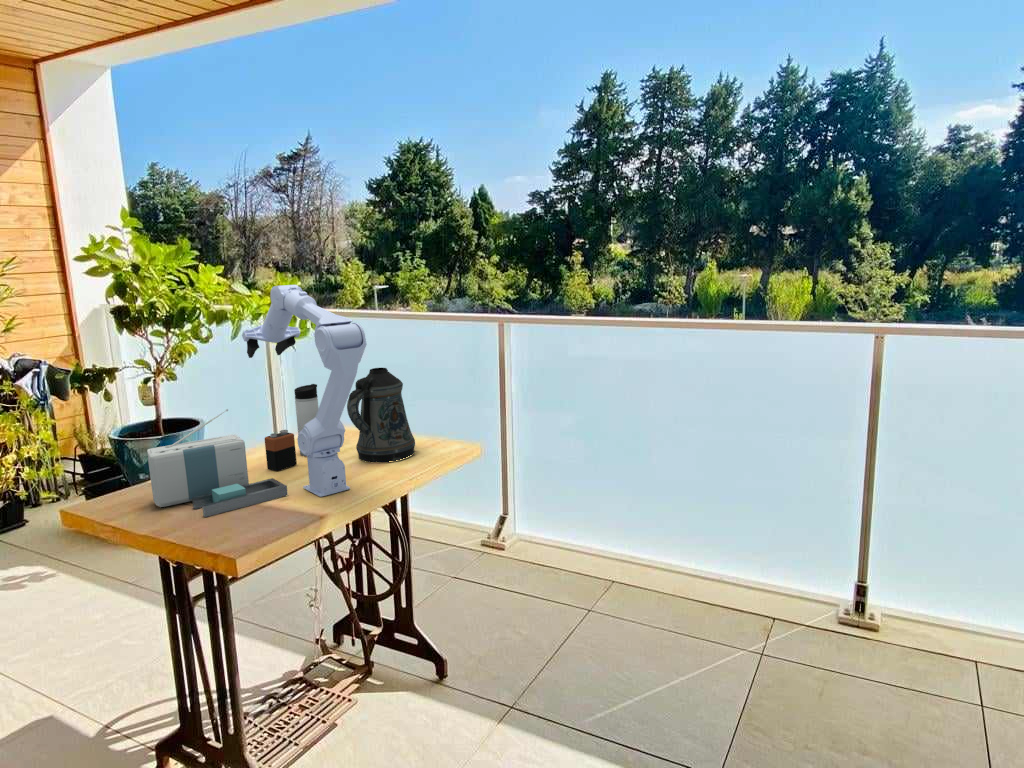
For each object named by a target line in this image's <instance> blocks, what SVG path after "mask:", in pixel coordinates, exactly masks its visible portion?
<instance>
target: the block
mask: <svg viewBox="0 0 1024 768" xmlns="http://www.w3.org/2000/svg"><path fill="white" fill-rule="evenodd" d="M245 494H246V488H244V487H242V486H241V485H239V484H233V485H229V486H225V487H221V488H217V489H212V498H213V502H217V501H221V500H225V499H229V498H233V497H237V496H241V495H245Z"/></svg>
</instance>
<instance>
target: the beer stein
mask: <svg viewBox="0 0 1024 768" xmlns="http://www.w3.org/2000/svg"><path fill="white" fill-rule="evenodd" d="M403 386H404V383H403V382H402V380H401V379H399V378H398V377H397V376H395V375H394V374H393V373H391V372H390V371H389V370H388V368H387V367H375V368H371V369H369V372H368V374H367V375H366V376H365V377H362V378H360V379H357V381H356V382H355V389H354V390H352V391H350V393H349V396H348V399H347V401H346V409H347V410H346V411H347V415H348V417H349V420H350V421H351V423H352V425H354V427H355V428H356V429H357V430H358V431H359V434H358V435H359V436H358V440H357V443H356V447H355V449H356V452H357V454H358V459H359V460H360V459H361V461H363V462H365V461H366V463H371V462H388V463H390V462H389V461H396V460H400V459H403V458H406V457H408V456H410V455H412V454H413V453H414V454H415V447H416V439H415V437H414V435H413V433H412V431H411V428H410V425H409V421H408V418H407V414H406V409H405V404H404V403H405V402H404V399H403V395H402V394H403V393H402V391H403ZM360 403H361V405H360ZM359 406H360V409H359ZM359 410H360V411H359ZM414 454H413V455H414ZM413 455H412V456H413ZM396 462H397V461H396Z"/></svg>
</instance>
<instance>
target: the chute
mask: <svg viewBox="0 0 1024 768" xmlns="http://www.w3.org/2000/svg"><path fill="white" fill-rule="evenodd" d="M242 487H244V488H246V494H245V495H241V496H237V497H233V498H229V499H225V500H221V501H217V502H213V498H212V493H209V494H205V495H201V496H197V497H193V498H192V501H191V502H192V508H193V510H197V509H202V514H203V515H202V516H203V517H204V518H208V517H211V516H216V515H219V514H223V513H226V512H231V511H234V510H239V509H242V508H245V507H249V506H253V505H257V504H261V503H265V502H268V501H273V500H276V498H277V499H280V498H283V497H282V496H284V497H287V496H286V495H288V485H286V484H284V483H283V482H280V481H279V480H277V479H276V478H273V477H271V478H268V479H264V480H260V481H259V480H258V481H255V482H251V483H249V484H247V485H242ZM288 496H289V495H288ZM279 497H280V498H279ZM272 499H273V500H272Z"/></svg>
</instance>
